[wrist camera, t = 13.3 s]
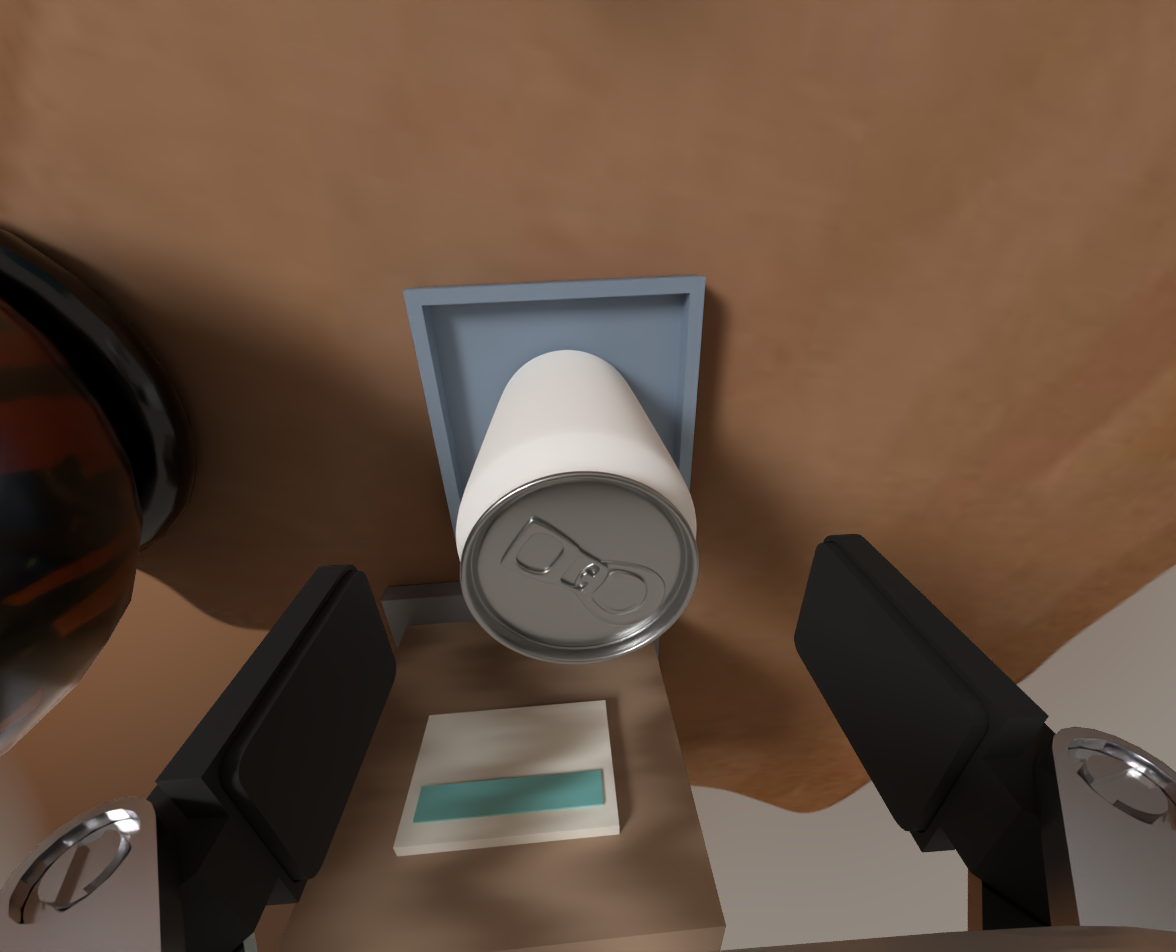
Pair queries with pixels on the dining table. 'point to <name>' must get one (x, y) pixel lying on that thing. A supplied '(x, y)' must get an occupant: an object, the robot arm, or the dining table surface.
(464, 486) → the tray
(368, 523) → the dining table surface
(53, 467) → the amphora vase
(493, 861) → the block
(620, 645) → the can
